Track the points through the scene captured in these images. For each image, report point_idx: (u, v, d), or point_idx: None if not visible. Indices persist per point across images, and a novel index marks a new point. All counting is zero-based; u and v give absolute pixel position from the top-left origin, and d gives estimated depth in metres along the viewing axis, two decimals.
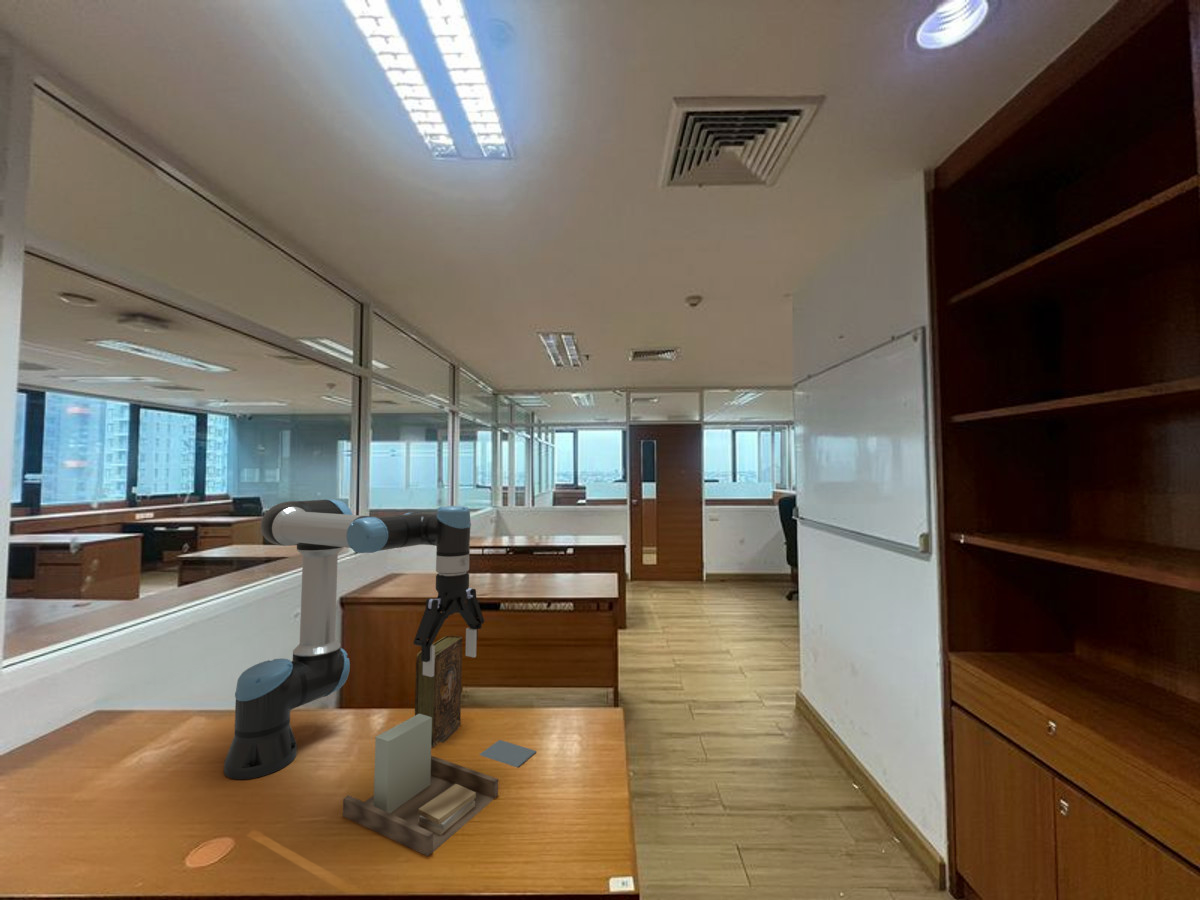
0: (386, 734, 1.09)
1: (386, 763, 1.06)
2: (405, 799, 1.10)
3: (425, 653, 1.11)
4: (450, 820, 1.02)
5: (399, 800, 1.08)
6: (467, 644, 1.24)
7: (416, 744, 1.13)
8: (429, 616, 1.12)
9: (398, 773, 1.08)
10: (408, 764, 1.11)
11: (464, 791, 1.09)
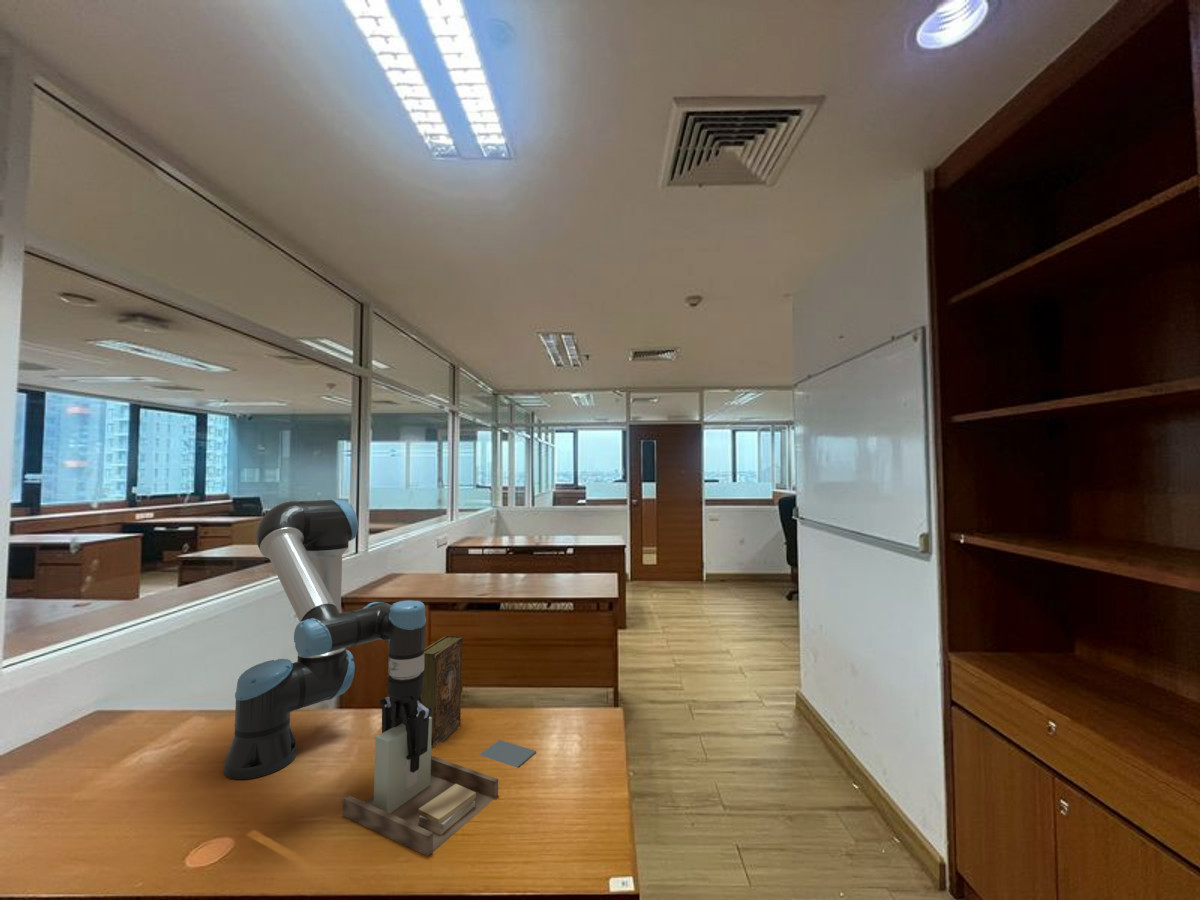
0: (386, 734, 1.09)
1: (386, 763, 1.06)
2: (405, 799, 1.10)
3: None
4: (450, 820, 1.02)
5: (399, 800, 1.09)
6: None
7: None
8: None
9: (398, 773, 1.08)
10: None
11: (464, 791, 1.09)
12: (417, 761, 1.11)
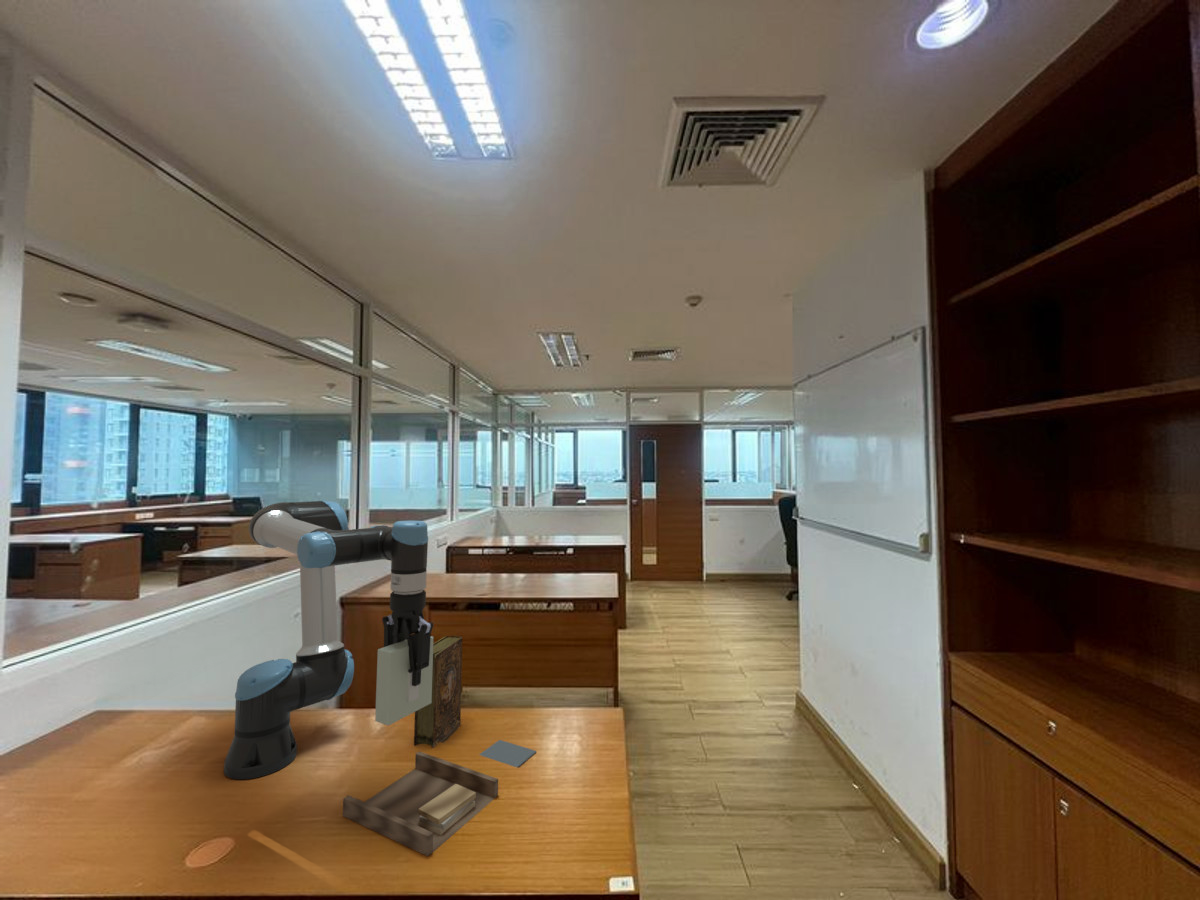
0: (388, 647, 1.10)
1: (388, 674, 1.07)
2: (407, 712, 1.11)
3: None
4: (450, 820, 1.02)
5: (401, 712, 1.10)
6: None
7: None
8: None
9: (400, 686, 1.09)
10: None
11: (464, 791, 1.09)
12: (419, 675, 1.12)
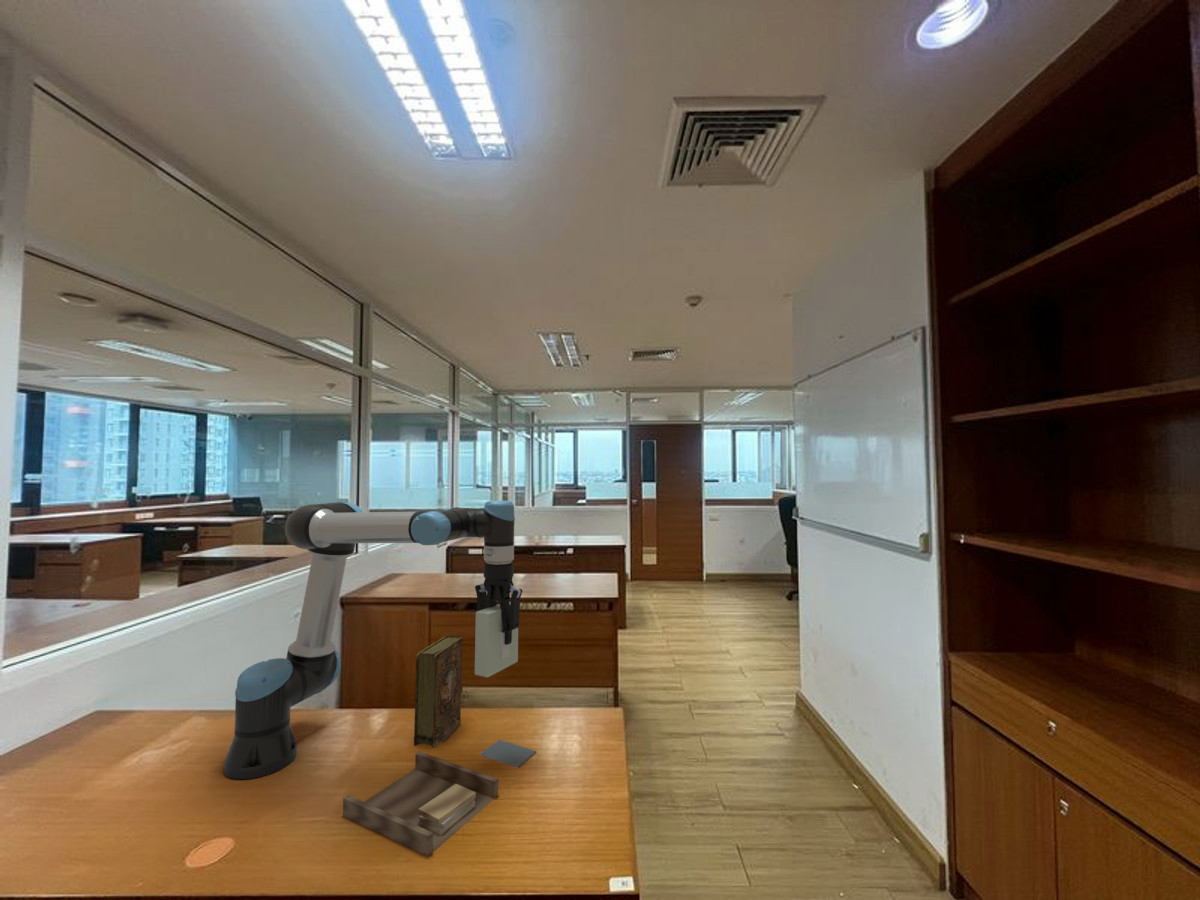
0: (484, 610, 1.26)
1: (486, 632, 1.23)
2: (500, 668, 1.27)
3: None
4: (450, 820, 1.02)
5: (496, 667, 1.25)
6: None
7: None
8: None
9: (495, 644, 1.25)
10: None
11: (464, 791, 1.09)
12: (510, 635, 1.27)
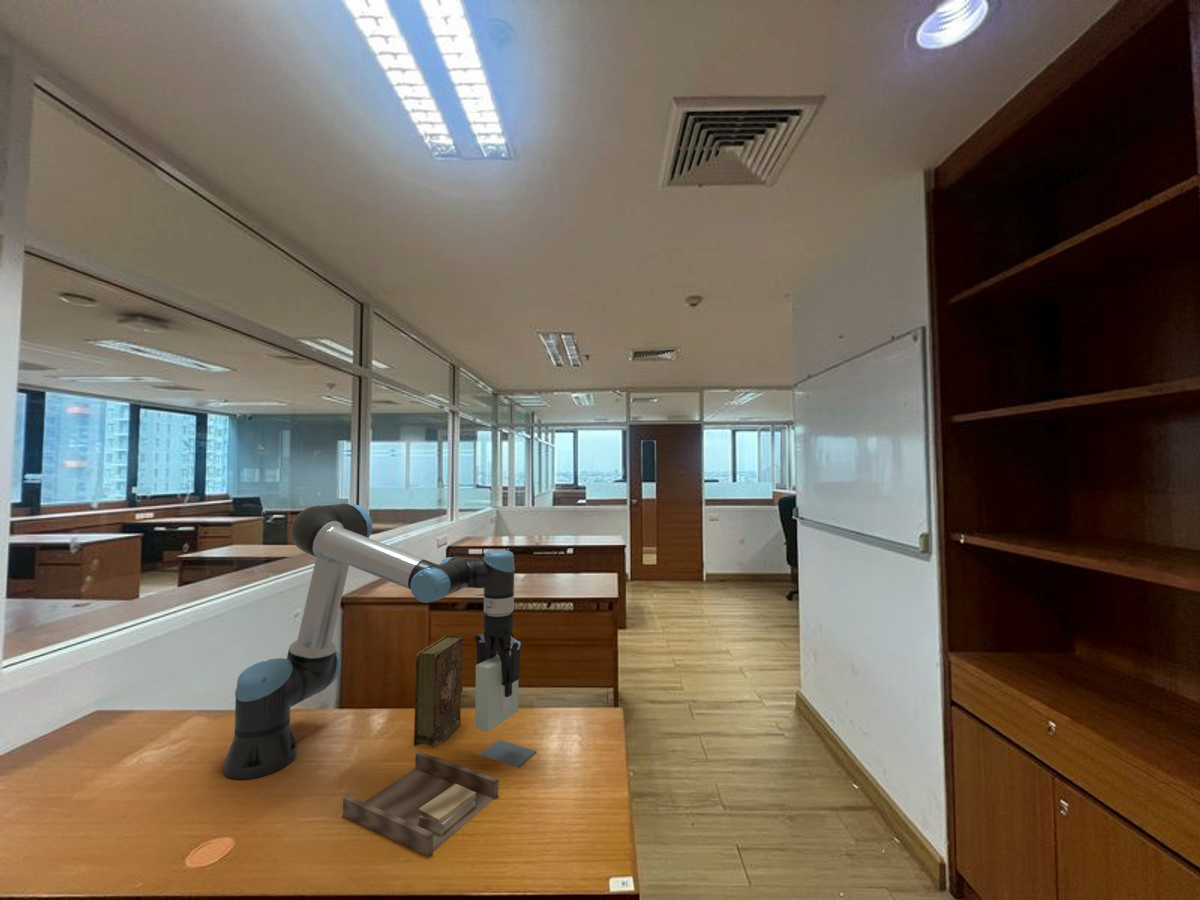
0: (484, 663, 1.25)
1: (486, 686, 1.23)
2: (500, 720, 1.26)
3: None
4: (450, 820, 1.02)
5: (496, 720, 1.25)
6: None
7: None
8: None
9: (495, 697, 1.25)
10: None
11: (464, 791, 1.09)
12: (510, 688, 1.27)
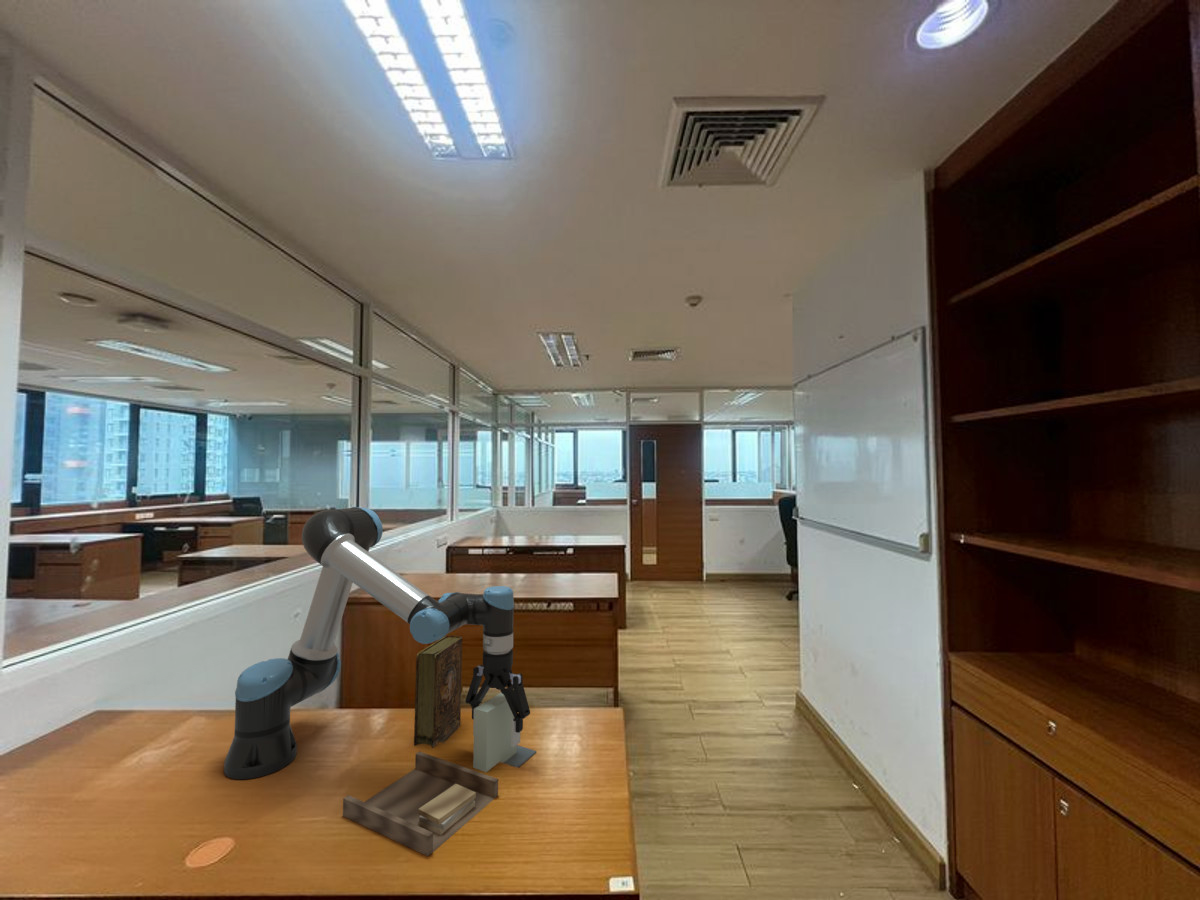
0: (482, 706, 1.25)
1: (485, 731, 1.22)
2: None
3: None
4: (450, 820, 1.02)
5: (495, 764, 1.24)
6: None
7: (506, 716, 1.29)
8: None
9: (494, 741, 1.24)
10: (501, 733, 1.27)
11: (464, 791, 1.09)
12: (521, 723, 1.25)
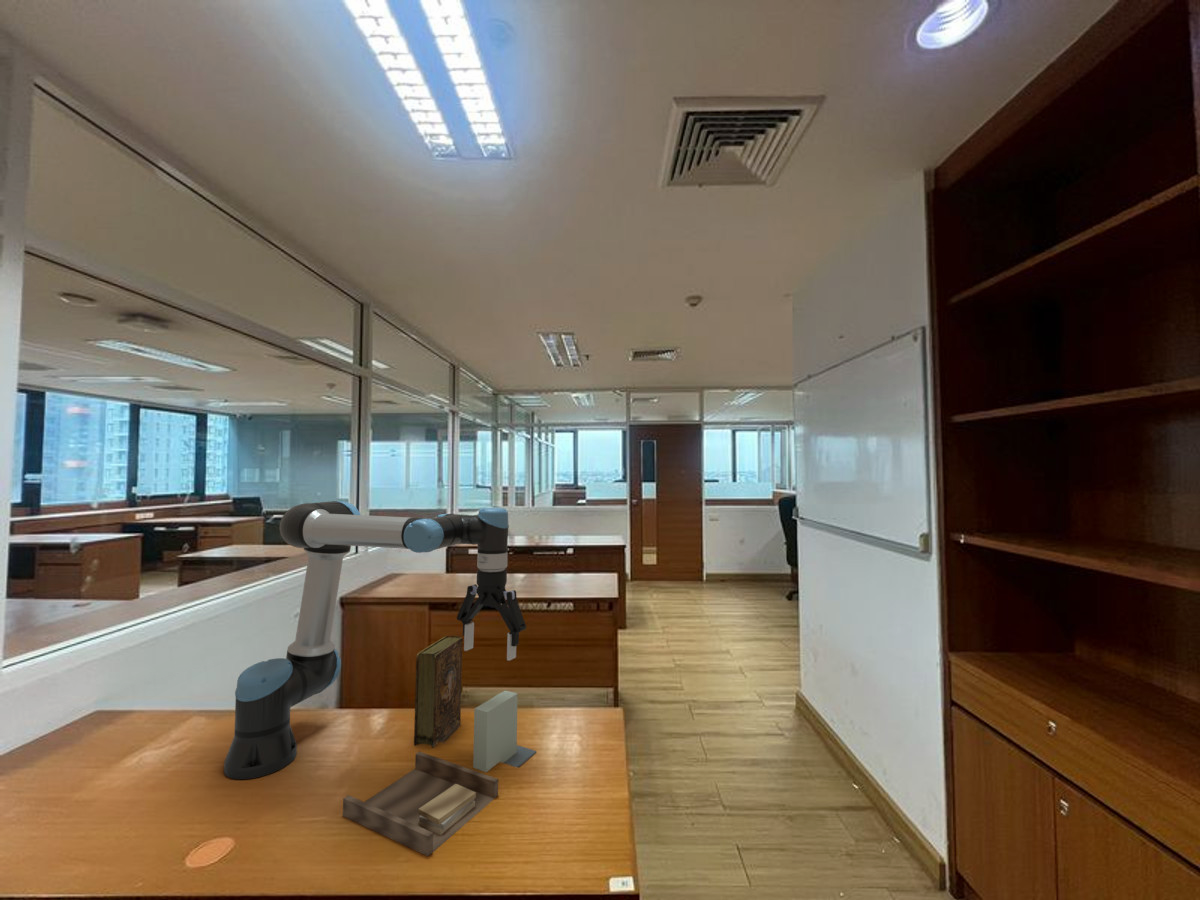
0: (482, 706, 1.25)
1: (485, 731, 1.22)
2: None
3: None
4: (450, 820, 1.02)
5: (495, 764, 1.24)
6: None
7: (506, 716, 1.29)
8: None
9: (494, 741, 1.24)
10: (501, 733, 1.27)
11: (464, 791, 1.09)
12: (517, 637, 1.25)
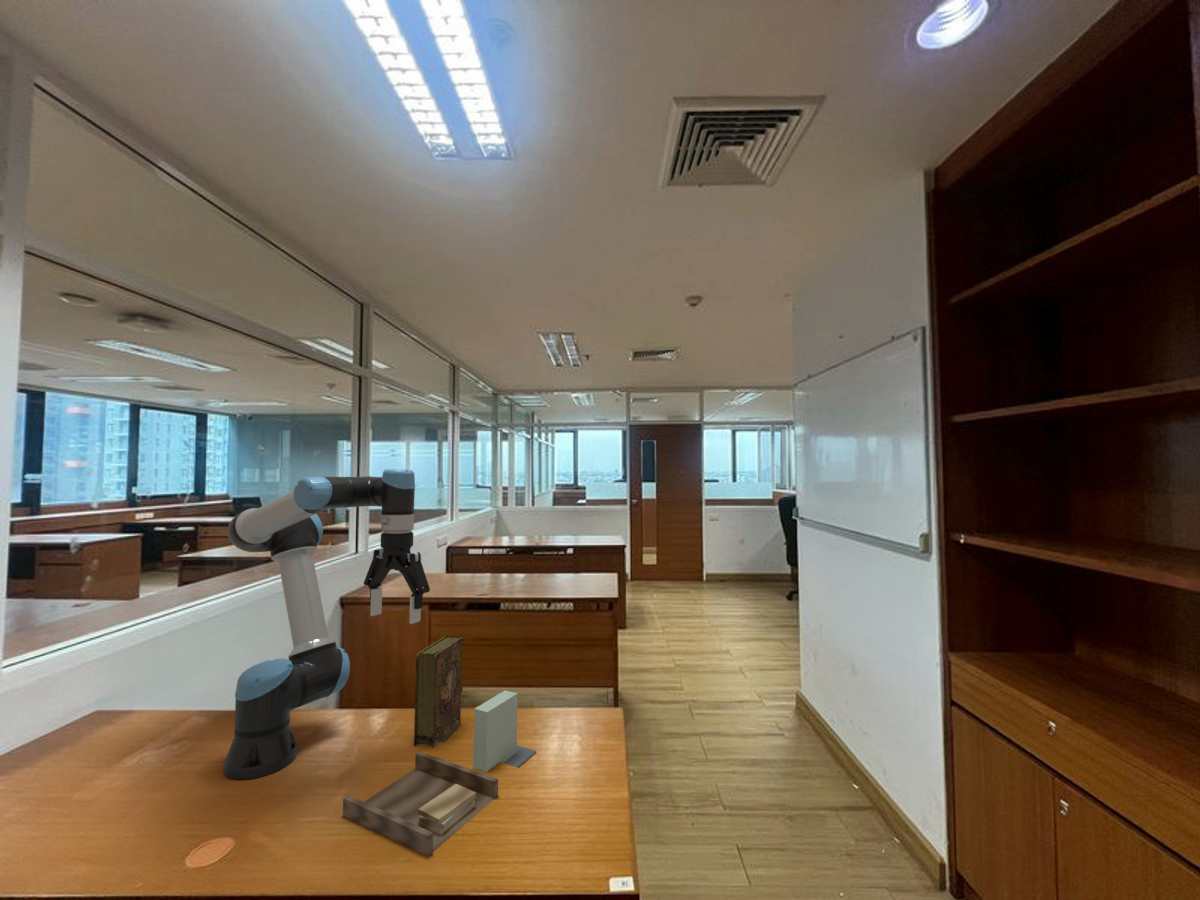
0: (482, 706, 1.25)
1: (485, 731, 1.22)
2: None
3: None
4: (450, 820, 1.02)
5: (495, 764, 1.24)
6: None
7: (506, 716, 1.29)
8: None
9: (494, 741, 1.24)
10: (501, 733, 1.27)
11: (464, 791, 1.09)
12: (420, 600, 1.22)
